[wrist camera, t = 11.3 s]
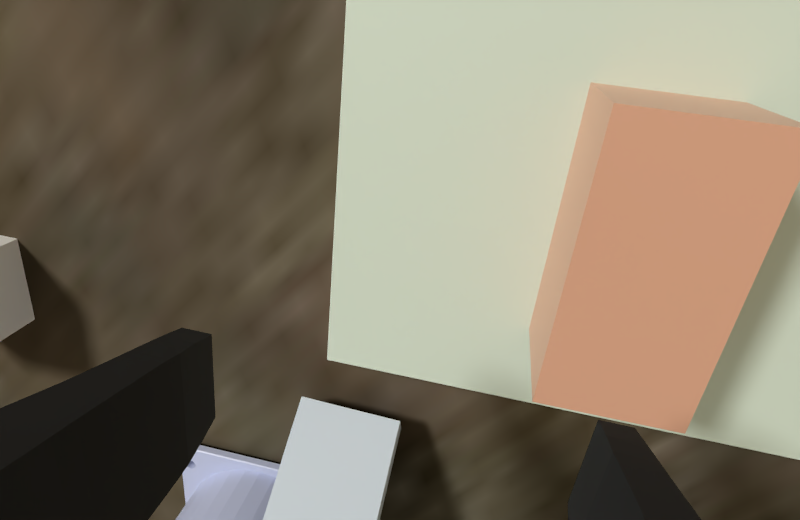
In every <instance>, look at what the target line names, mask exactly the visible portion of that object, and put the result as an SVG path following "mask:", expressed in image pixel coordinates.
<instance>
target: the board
mask: <svg viewBox="0 0 800 520" xmlns="http://www.w3.org/2000/svg"><path fill="white" fill-rule="evenodd" d="M591 82H592V83H600V84H607V85H615V86H623V87H631V88H639V89H646V90H654V91H662V92H670V93H677V94H685V95H693V96H701V97H709V98H716V99H724V100H732V101H740V102H747V103H750V104H753V105H755V106H758V107H761V108H763V109H766V110H769V111H771V112H774V113H777V114H779V115H782V116H785V117H787V118H790V119H793V120H795V121H798V122H800V0H346V18H345V37H344V56H343V74H342V93H341V111H340V130H339V148H338V167H337V186H336V204H335V223H334V241H333V260H332V278H331V297H330V315H329V334H328V353H327V360H331V361H336V362H341V363H345V364H350V365H355V366H359V367H364V368H369V369H374V370H378V371H383V372H388V373H392V374H397V375H402V376H407V377H411V378H416V379H421V380H425V381H430V382H435V383H439V384H444V385H449V386H454V387H458V388H463V389H468V390H472V391H477V392H482V393H487V394H491V395H496V396H501V397H505V398H510V399H515V400H520V401H524V402H529V403H534V404H538V405H543V406H548V407H553V408H557V409H562V410H567V411H571V412H576V413H581V414H585V415H590V416H595V417H600V418H604V419H609V420H614V421H618V422H623V423H628V424H633V425H637V426H642V427H647V428H651V429H656V430H661V431H666V432H670V433H675V434H680V435H684V436H689V437H694V438H698V439H703V440H708V441H713V442H717V443H722V444H727V445H731V446H736V447H741V448H746V449H750V450H755V451H760V452H764V453H769V454H774V455H779V456H783V457H788V458H793V459H797V460H800V181H799V183H798V185H797V187H796V190H795V192H794V194H793V196H792V198H791V201H790V203H789V205H788V207H787V209H786V212H785V214H784V216H783V218H782V221H781V223H780V225H779V227H778V229H777V232H776V234H775V236H774V238H773V240H772V243H771V245H770V247H769V249H768V251H767V254H766V256H765V258H764V260H763V263H762V265H761V267H760V269H759V271H758V274H757V276H756V278H755V280H754V282H753V285H752V287H751V289H750V291H749V294H748V296H747V298H746V300H745V302H744V305H743V307H742V309H741V311H740V313H739V316H738V318H737V320H736V322H735V324H734V327H733V329H732V331H731V333H730V336H729V338H728V340H727V342H726V344H725V347H724V349H723V351H722V353H721V355H720V358H719V360H718V362H717V364H716V366H715V369H714V371H713V373H712V375H711V378H710V380H709V382H708V384H707V386H706V389H705V391H704V393H703V395H702V397H701V400H700V402H699V404H698V406H697V409H696V411H695V413H694V415H693V417H692V420H691V422H690V424H689V426H688V428H687V431H686V433H685V434H684V433H679V432H674V431H669V430H665V429H660V428H655V427H650V426H646V425H641V424H636V423H631V422H626V421H622V420H617V419H612V418H607V417H603V416H598V415H593V414H588V413H584V412H579V411H574V410H569V409H565V408H560V407H555V406H550V405H546V404H541V403H536V402H532V383H531V360H530V337H529V327H530V323H531V319H532V315H533V311H534V307H535V303H536V299H537V295H538V291H539V287H540V283H541V279H542V275H543V271H544V267H545V263H546V259H547V255H548V251H549V247H550V243H551V239H552V235H553V231H554V227H555V223H556V219H557V215H558V211H559V207H560V203H561V199H562V195H563V191H564V187H565V183H566V179H567V175H568V171H569V167H570V163H571V159H572V155H573V151H574V147H575V143H576V139H577V135H578V131H579V127H580V123H581V119H582V115H583V111H584V107H585V103H586V99H587V95H588V91H589V87H590V83H591Z"/></svg>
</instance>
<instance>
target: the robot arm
mask: <svg viewBox="0 0 800 520" xmlns="http://www.w3.org/2000/svg"><path fill="white" fill-rule="evenodd" d="M214 418H215V400H214V379H213V357H212V336H211V334H208V333H203V332H199V331H194V330H190V329H185V328H180V329H178V330H175V331H173V332H170V333H168V334H166V335H163V336H161V337H159V338H157V339H154V340H152V341H150V342H148V343H146V344H144V345H141V346H139V347H137V348H135V349H133V350H131V351H129V352H127V353H124V354H122V355H120V356H118V357H116V358H114V359H112V360H109V361H107V362H105V363H103V364H101V365H99V366H96V367H94V368H92V369H90V370H88V371H86V372H83V373H81V374H79V375H77V376H75V377H73V378H70V379H68V380H66V381H64V382H61V383H59V384H57V385H54V386H52V387H50V388H47V389H45V390H43V391H40V392H38V393H35V394H33V395H31V396H28V397H26V398H24V399H21V400H19V401H17V402H14V403H12V404H9V405H7V406H5V407H2V408H0V520H148V519H149V518H150V516H151V515H152V514H153V512H154V511H155V510H156V508H157V507H158V506H159V504H160V503H161V502H162V500H163V499H164V498H165V496H166V495H167V493H168V492H169V491H170V489H171V488H172V487H173V485H174V484H175V483H176V481H177V480H178V478H179V477H180V476H181V474H183V483H184V492H185V502H186V505H185V506H184V508H183V509H182V511H181V512H180V514H179V515H178V517H177V518H176V520H263V518H264V514H265V511H266V508H267V505H268V502H269V499H270V495H271V492H272V489H273V486H274V483H275V480H276V476H277V473H278V470H279V467H280V464H277V463H273V462H269V461H265V460H261V459H256V458H252V457H248V456H244V455H240V454H236V453H232V452H228V451H223V450H219V449H215V448H211V447H207V446H203V445H200V444H201V442H202V440H203V439H204V437H205V435H206V433H207V431H208V429H209V428H210V426H211V424H212V422H213V420H214ZM568 520H701V519H700V517H699V516H698V515H697V513H696V512H695V511H694V509H693V508H692V507H691V505H690V504H689V503H688V501H687V500H686V498H685V497H684V496H683V494H682V493H681V492H680V490H679V489H678V487H677V486H676V485H675V483H674V482H673V480H672V479H671V478H670V476H669V475H668V474H667V472H666V471H665V469H664V468H663V467H662V465H661V464H660V462H659V461H658V460H657V458H656V457H655V455H654V454H653V452H652V451H651V450H650V448H649V447H648V445H647V444H646V443H645V441H644V440H643V439H642V437H641V436H640V434H639V433H638V432H637V430H636V429H635V428H633V427H628V426H624V425H619V424H615V423H610V422H606V421H601V420H598V422H597V425H596V427H595V430H594V433H593V435H592V438H591V441H590V444H589V446H588V449H587V452H586V454H585V457H584V460H583V463H582V465H581V468H580V471H579V473H578V476H577V479H576V482H575V484H574V487H573V490H572V492H571V495H570V498H569V501H568Z"/></svg>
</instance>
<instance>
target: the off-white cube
mask: <svg viewBox="0 0 800 520" xmlns="http://www.w3.org/2000/svg"><path fill="white" fill-rule="evenodd" d="M33 320H35V317H34V313H33V308H32V303H31V299H30V294H29V290H28V285H27V281H26V276H25V272H24V267H23V263H22V258H21V254H20V249H19V245H18V240H17V239H16V238H11V237H6V236H1V235H0V341H2V340H3V339H5V338H6V337H8V336H10V335H11V334H13V333H14V332H16V331H17V330H19V329H21V328H22V327H24V326H25V325H27V324H29V323H30V322H32V321H33Z"/></svg>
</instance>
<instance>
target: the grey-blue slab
mask: <svg viewBox="0 0 800 520" xmlns="http://www.w3.org/2000/svg"><path fill="white" fill-rule="evenodd" d="M400 431H401V423H400V421H398V420H394V419H390V418H386V417H382V416H378V415H374V414H370V413H366V412H362V411H358V410H354V409H350V408H346V407H342V406H338V405H334V404H330V403H326V402H322V401H318V400H314V399H310V398H306V397H301V400H300V404H299V407H298V410H297V413H296V416H295V419H294V423H293V426H292V429H291V432H290V435H289V438H288V442H287V445H286V448H285V451H284V454H283V457H282V461H281V464H280V467H279V470H278V473H277V476H276V480H275V483H274V486H273V489H272V492H271V495H270V499H269V502H268V505H267V508H266V511H265V514H264V518H263V520H380V516H381V512H382V508H383V504H384V499H385V495H386V491H387V486H388V482H389V478H390V474H391V469H392V465H393V461H394V456H395V452H396V448H397V444H398V439H399V435H400Z"/></svg>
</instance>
